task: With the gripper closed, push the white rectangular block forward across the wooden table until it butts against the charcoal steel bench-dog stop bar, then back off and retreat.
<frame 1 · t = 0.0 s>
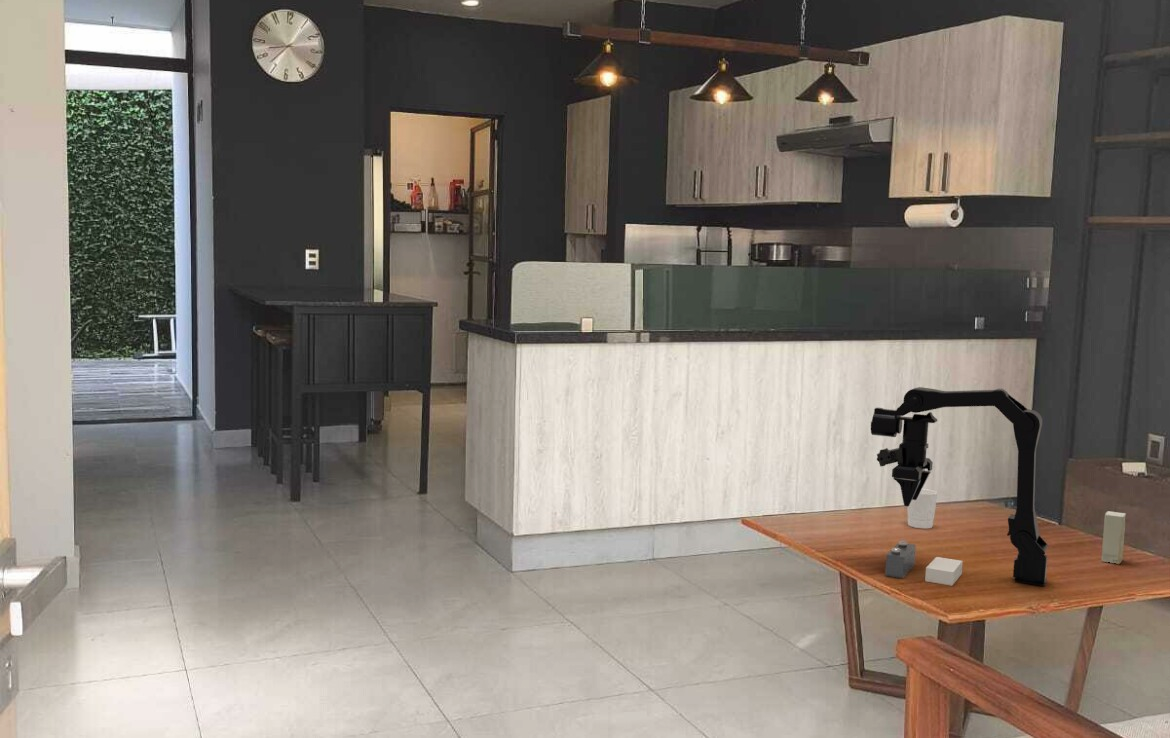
hand: (910, 502, 266), 15 cm above the table, fingers open, 9 cm apart
white rectangular block: (943, 579, 254), on the table
skincare box: (1111, 561, 277), on the table
white cup: (920, 526, 307), on the table
stop bar: (900, 570, 259), on the table
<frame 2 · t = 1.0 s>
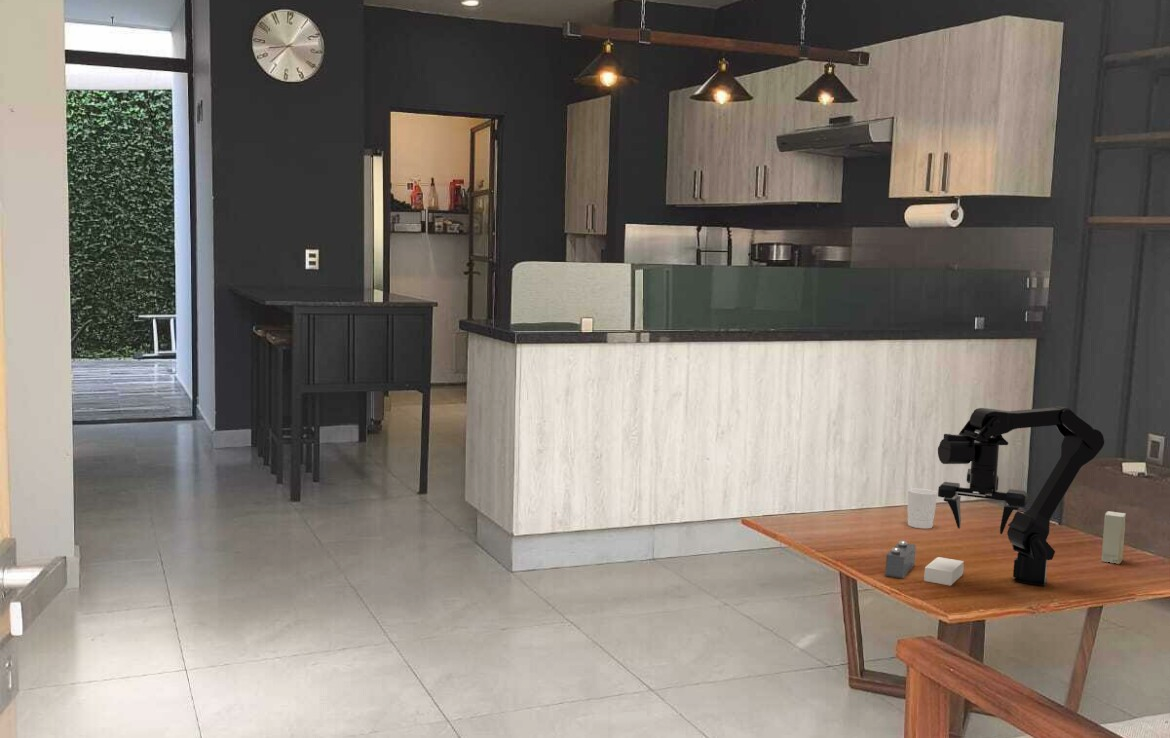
hand: (979, 531, 250), 12 cm above the table, fingers open, 9 cm apart
nothing on the table moved.
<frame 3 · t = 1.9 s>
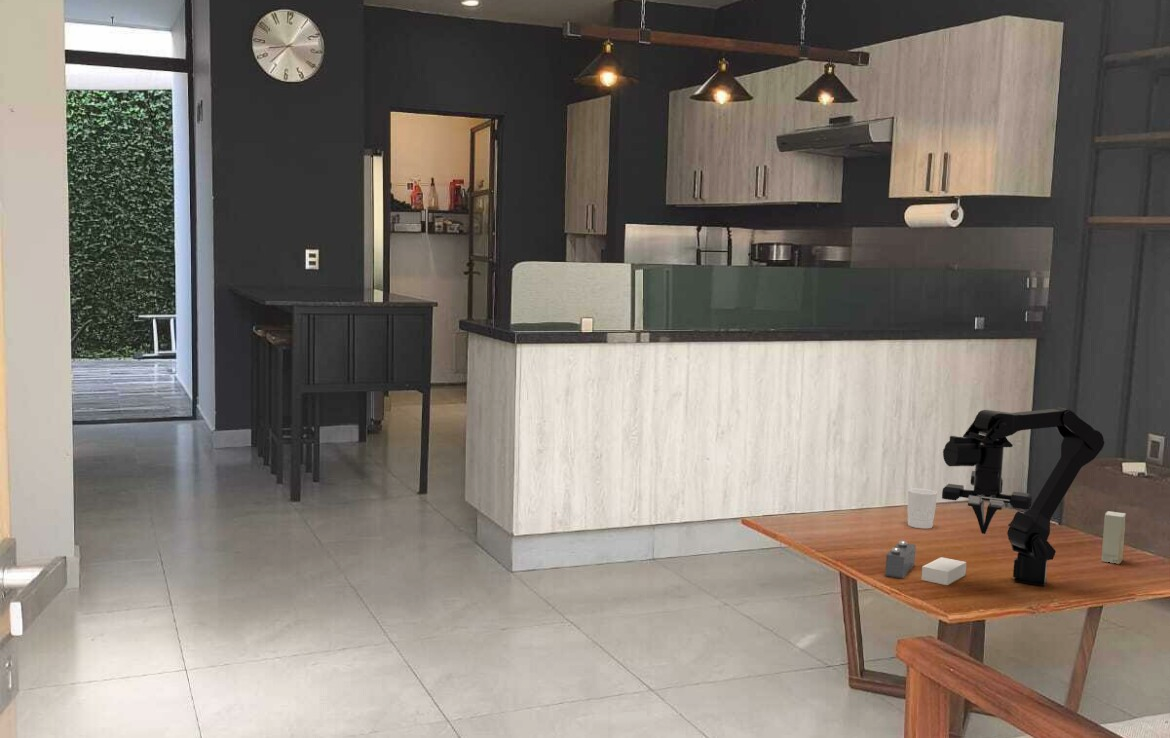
hand: (983, 533, 250), 12 cm above the table, fingers closed
nothing on the table moved.
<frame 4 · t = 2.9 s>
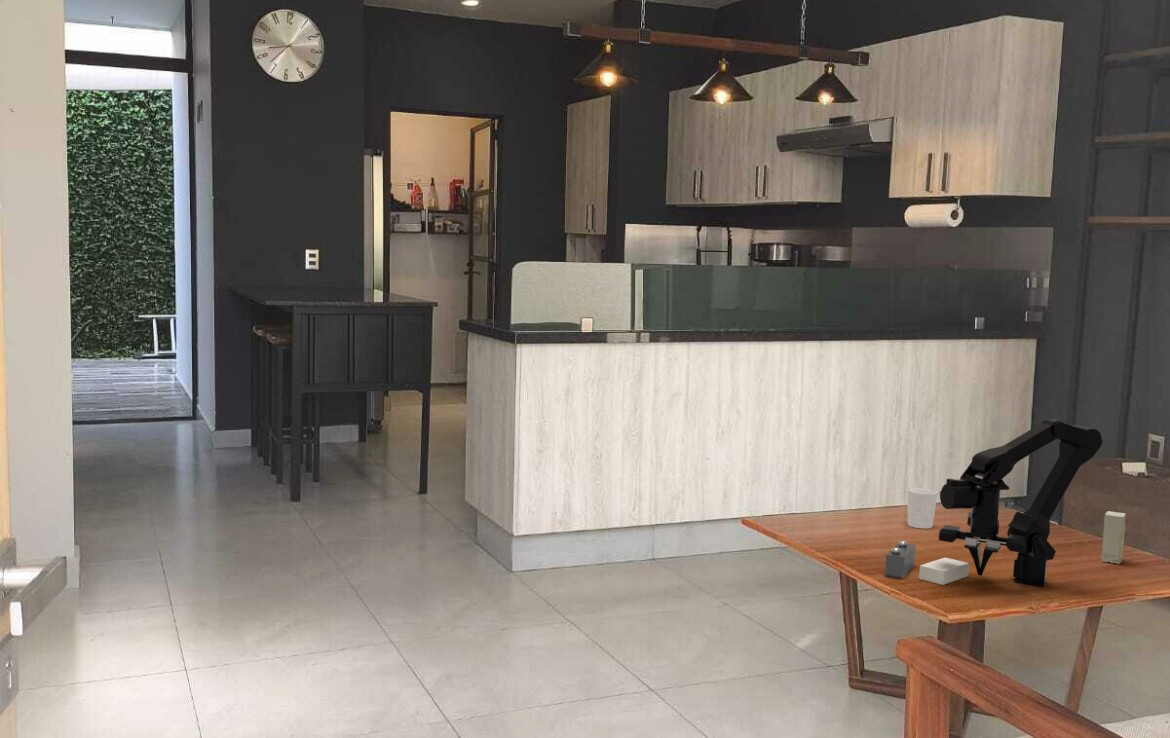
hand: (980, 575, 250), 2 cm above the table, fingers closed
nothing on the table moved.
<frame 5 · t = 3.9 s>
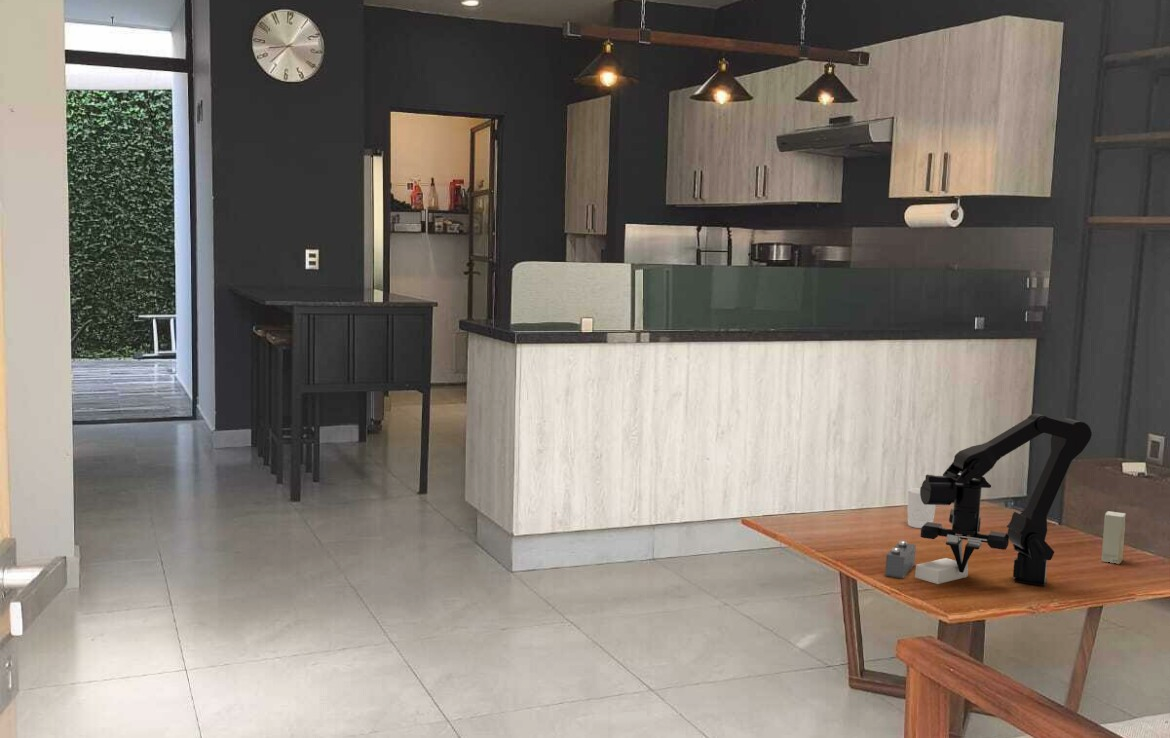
hand: (961, 572, 252), 2 cm above the table, fingers closed
white rectangular block: (941, 579, 255), on the table, touching gripper
everything else where it was.
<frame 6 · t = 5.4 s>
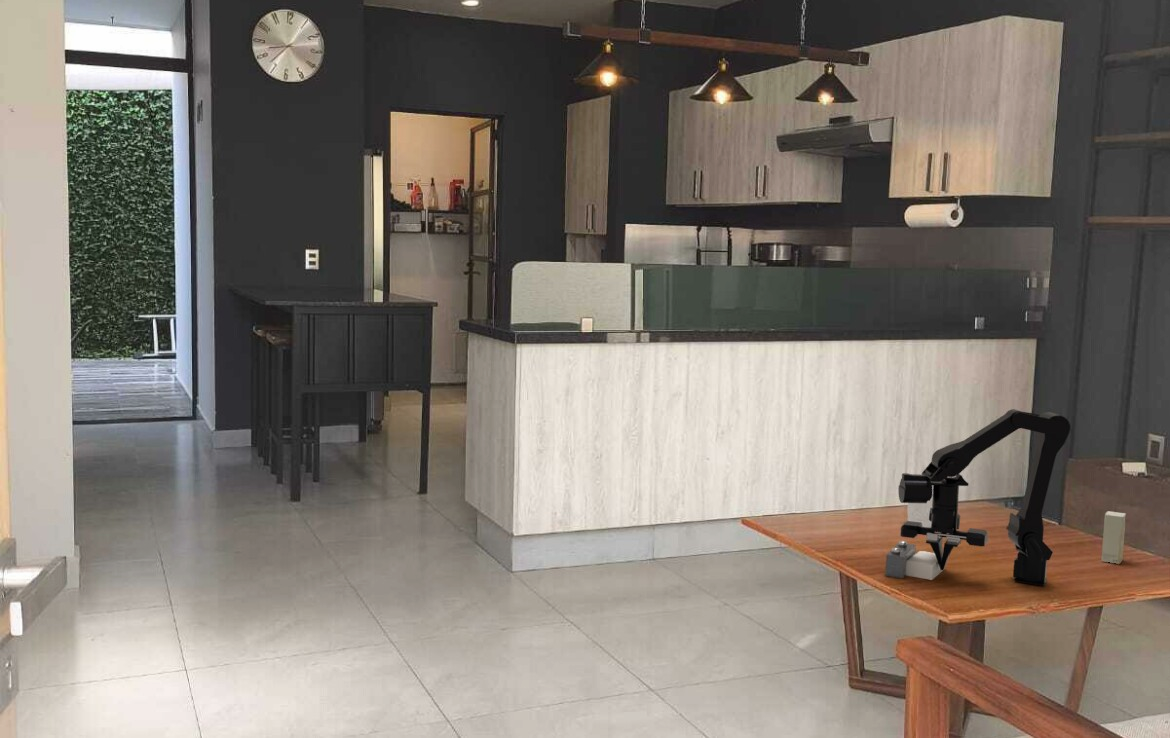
hand: (942, 569, 255), 2 cm above the table, fingers closed
white rectangular block: (925, 572, 258), on the table, touching gripper, stop bar
everything else where it was.
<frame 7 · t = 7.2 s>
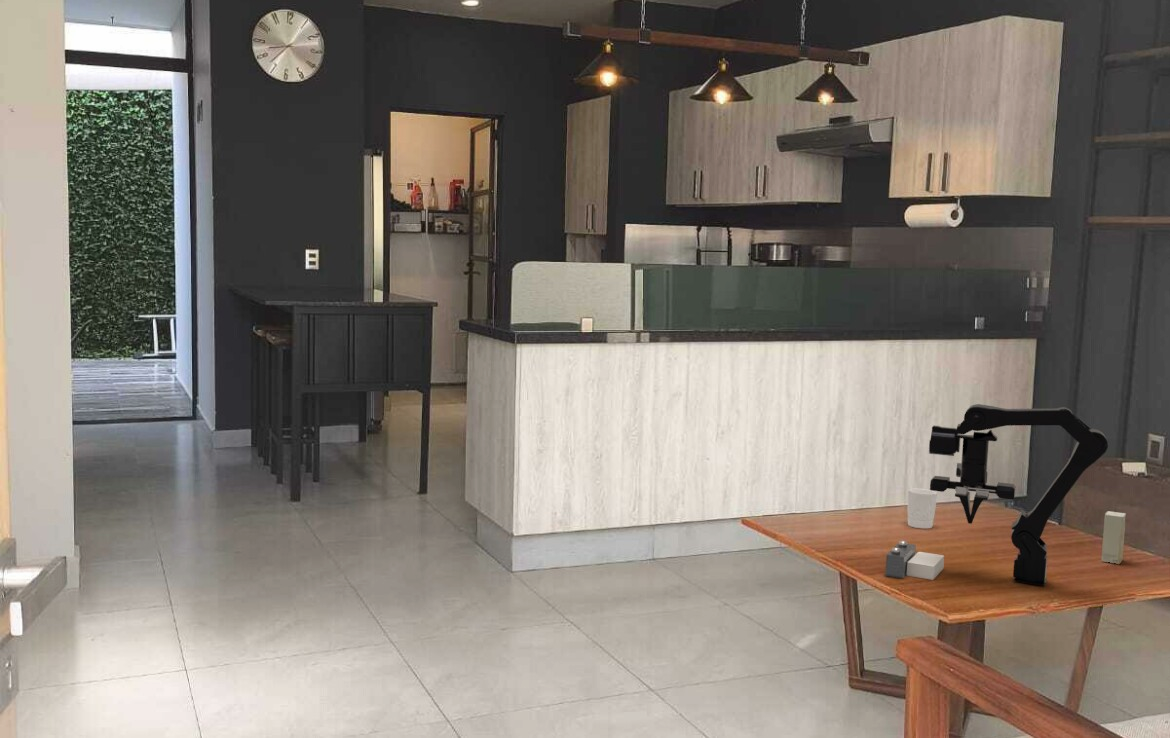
hand: (970, 523, 258), 12 cm above the table, fingers closed
white rectangular block: (925, 573, 258), on the table
everything else where it was.
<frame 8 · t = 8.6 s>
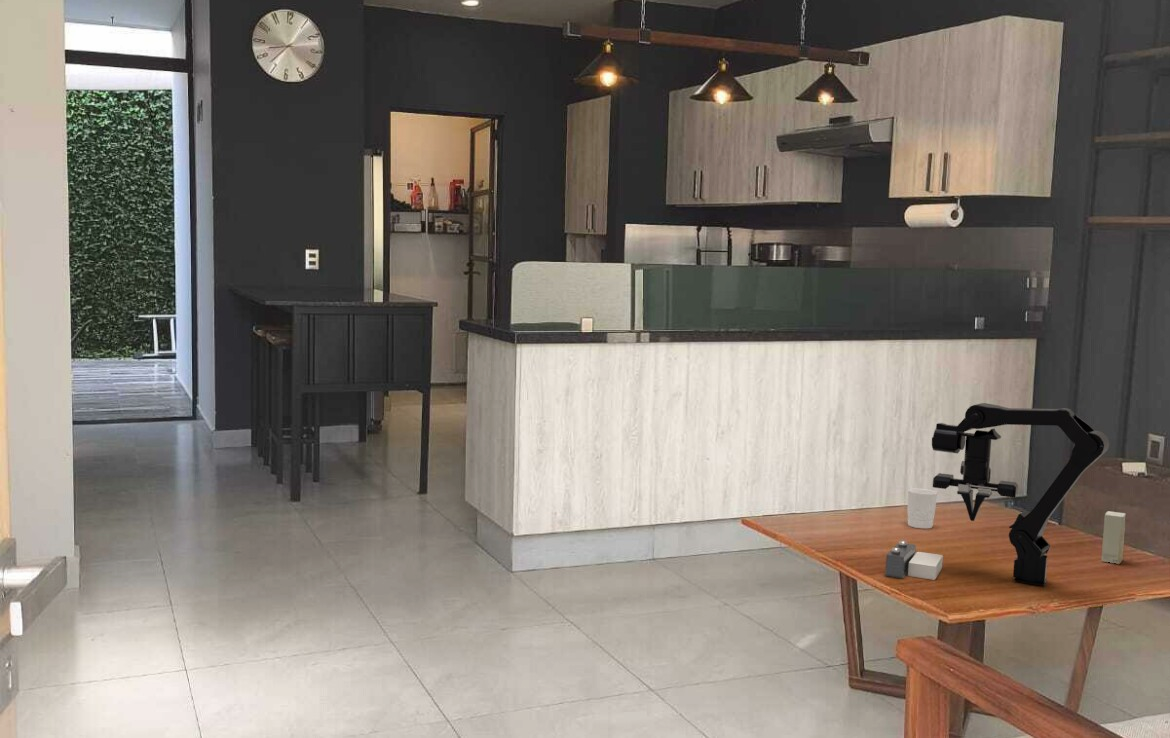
hand: (972, 520, 261), 12 cm above the table, fingers closed
nothing on the table moved.
at the end: white rectangular block 2.4 cm from the target spot, on the table; white rectangular block tilted 0°; white rectangular block moved 5.2 cm from its start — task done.
